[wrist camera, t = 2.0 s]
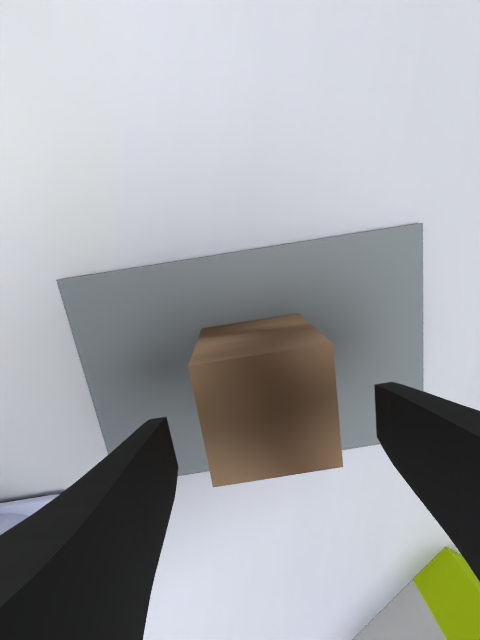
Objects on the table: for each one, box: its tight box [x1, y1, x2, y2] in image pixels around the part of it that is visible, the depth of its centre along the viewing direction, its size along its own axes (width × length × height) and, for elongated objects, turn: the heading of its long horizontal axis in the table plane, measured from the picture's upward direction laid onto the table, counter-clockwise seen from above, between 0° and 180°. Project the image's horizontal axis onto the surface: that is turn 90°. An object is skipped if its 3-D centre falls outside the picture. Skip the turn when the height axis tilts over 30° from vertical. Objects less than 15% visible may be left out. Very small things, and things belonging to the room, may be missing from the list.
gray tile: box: [57, 223, 423, 476], centre depth 15 cm, size 18×12×1 cm, turn 99°
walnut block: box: [188, 313, 343, 487], centre depth 13 cm, size 5×5×5 cm
